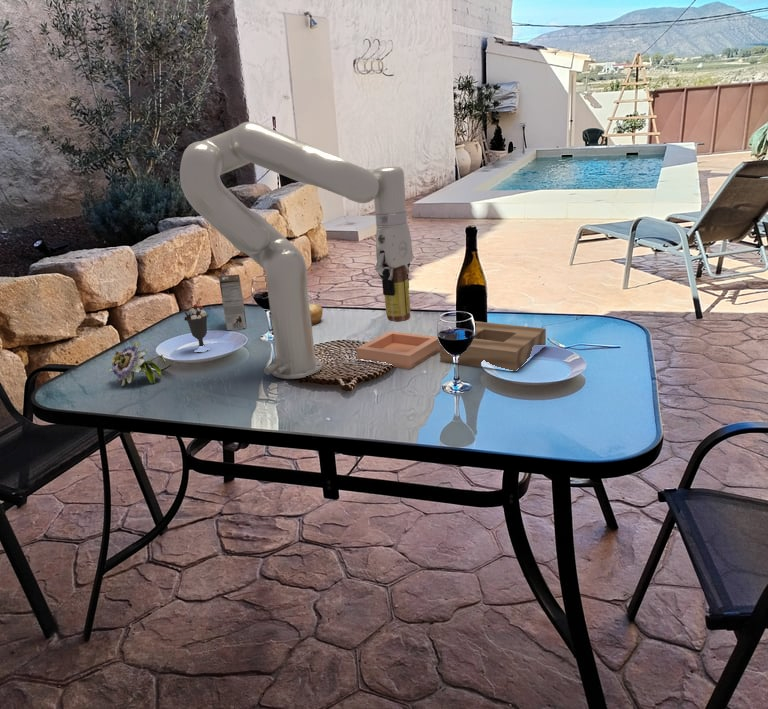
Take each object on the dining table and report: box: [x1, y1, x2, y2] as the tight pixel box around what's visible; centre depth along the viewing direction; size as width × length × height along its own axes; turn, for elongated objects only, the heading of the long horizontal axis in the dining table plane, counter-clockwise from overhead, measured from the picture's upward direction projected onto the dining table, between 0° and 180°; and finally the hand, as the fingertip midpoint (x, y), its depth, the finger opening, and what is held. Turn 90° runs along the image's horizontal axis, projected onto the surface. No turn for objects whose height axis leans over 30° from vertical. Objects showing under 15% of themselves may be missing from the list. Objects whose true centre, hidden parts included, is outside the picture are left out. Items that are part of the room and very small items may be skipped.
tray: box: [355, 330, 440, 370], centre depth 162 cm, size 16×16×4 cm
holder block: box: [439, 320, 547, 371], centre depth 158 cm, size 20×20×5 cm
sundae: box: [184, 297, 209, 347], centre depth 177 cm, size 7×7×15 cm
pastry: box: [308, 294, 323, 326], centre depth 198 cm, size 12×12×9 cm
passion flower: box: [108, 341, 167, 387], centre depth 157 cm, size 11×11×12 cm
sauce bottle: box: [384, 265, 411, 323], centre depth 157 cm, size 7×6×20 cm
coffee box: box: [218, 274, 248, 331], centre depth 198 cm, size 9×6×16 cm
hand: (396, 291), depth 157 cm, fingers closed on sauce bottle, 5 cm apart
